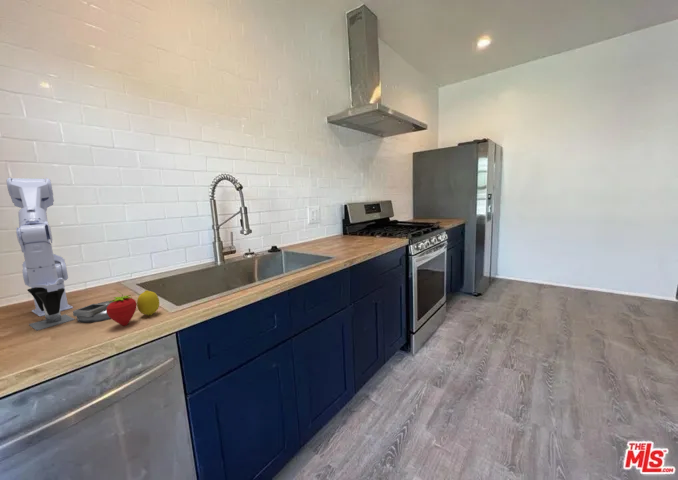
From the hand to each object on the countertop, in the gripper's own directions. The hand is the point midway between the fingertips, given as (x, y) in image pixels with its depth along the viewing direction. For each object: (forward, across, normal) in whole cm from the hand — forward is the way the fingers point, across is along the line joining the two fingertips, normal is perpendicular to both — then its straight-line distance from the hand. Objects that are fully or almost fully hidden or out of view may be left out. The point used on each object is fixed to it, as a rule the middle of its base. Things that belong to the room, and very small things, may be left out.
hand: (50, 311), depth 83 cm
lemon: (+4, -22, -16) cm, 28 cm away
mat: (+3, 0, 0) cm, 3 cm away
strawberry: (+4, -23, -10) cm, 25 cm away
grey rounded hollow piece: (+3, -7, -11) cm, 13 cm away
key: (+3, 0, 0) cm, 3 cm away
